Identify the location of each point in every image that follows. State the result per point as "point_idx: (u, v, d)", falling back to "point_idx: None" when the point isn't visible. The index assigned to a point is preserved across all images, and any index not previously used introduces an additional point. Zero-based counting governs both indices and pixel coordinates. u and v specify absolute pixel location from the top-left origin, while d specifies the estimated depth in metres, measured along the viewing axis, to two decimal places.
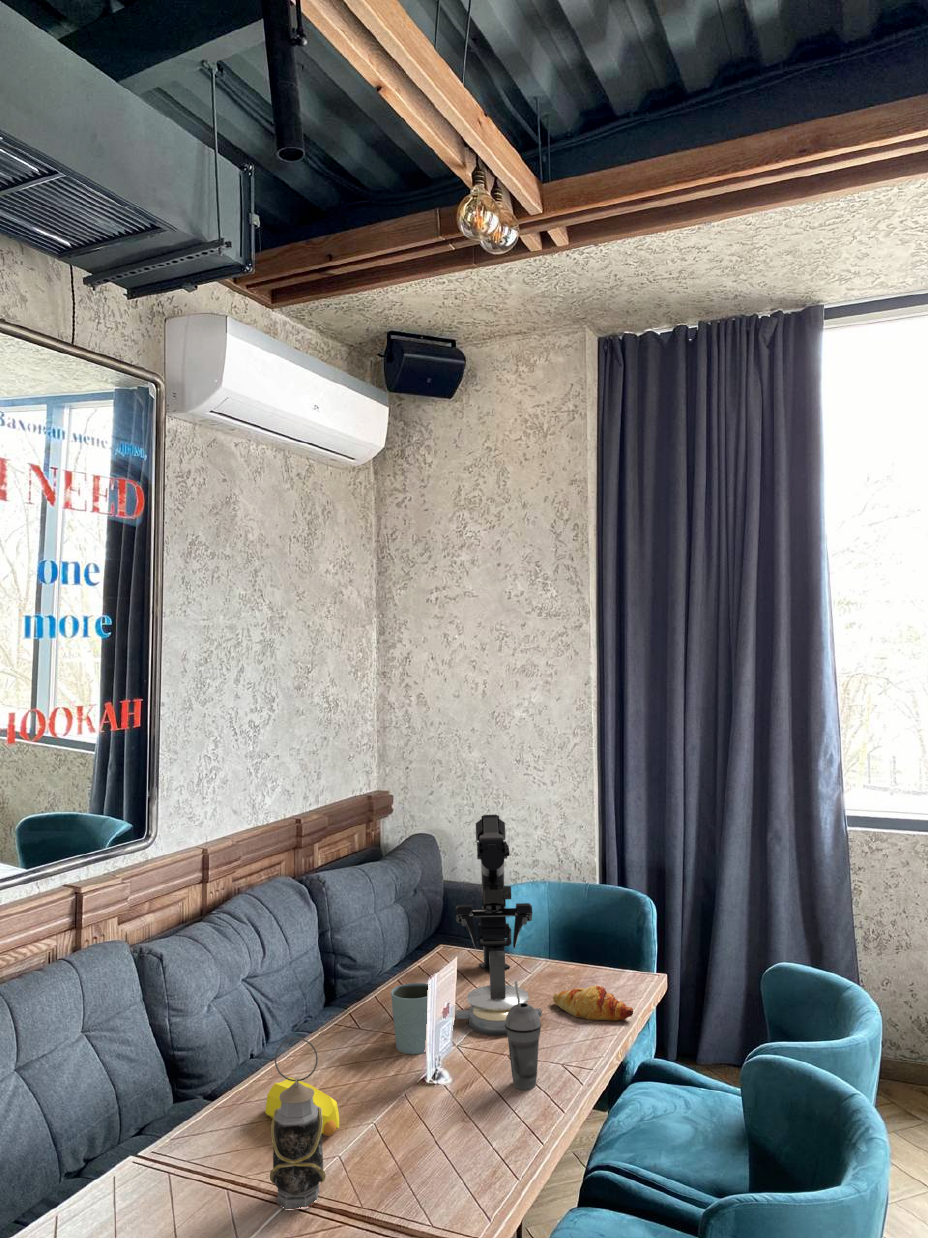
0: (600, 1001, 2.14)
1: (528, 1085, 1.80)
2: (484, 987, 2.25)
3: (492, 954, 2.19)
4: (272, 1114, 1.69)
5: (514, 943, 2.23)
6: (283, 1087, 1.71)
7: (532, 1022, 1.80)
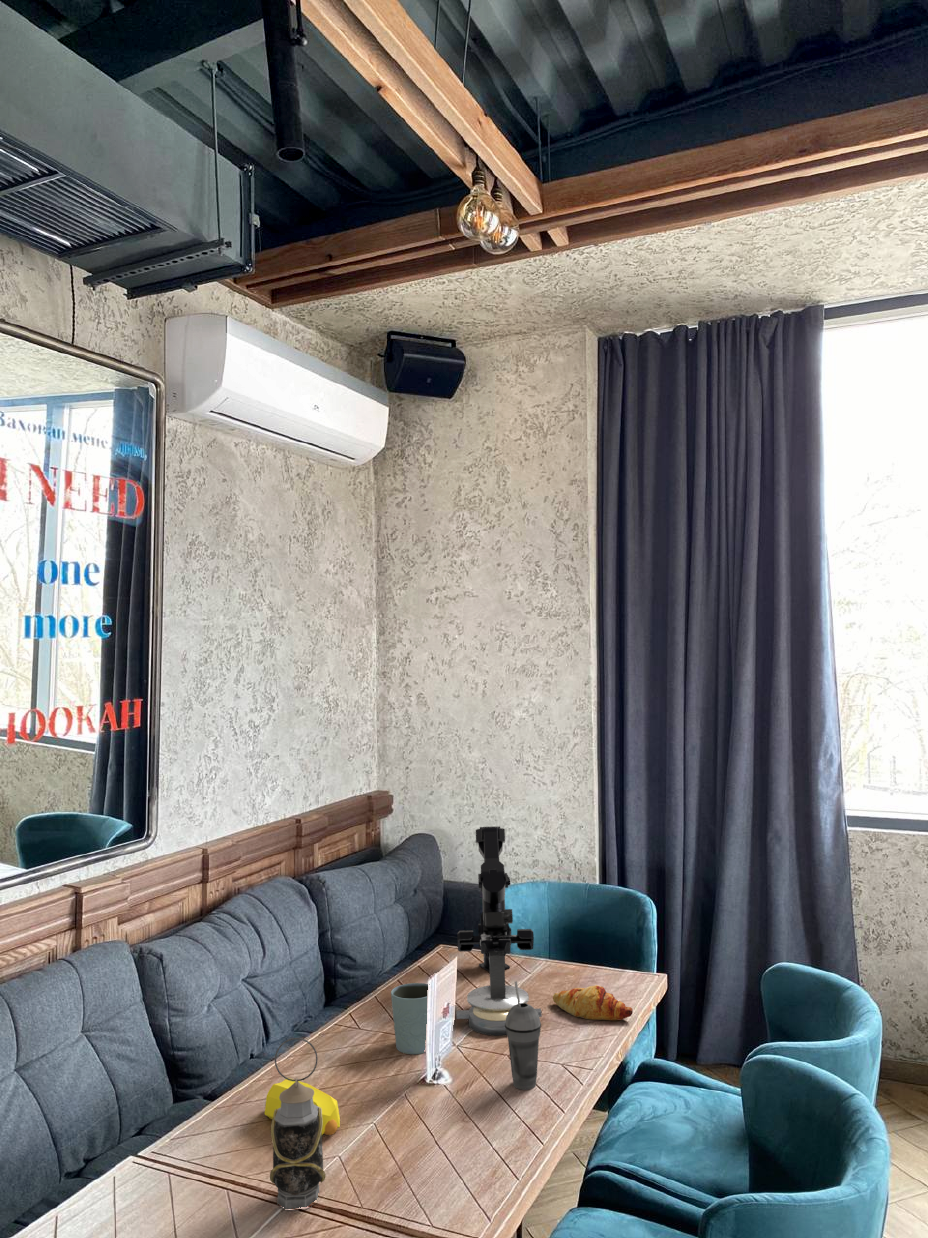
0: (600, 1000, 2.14)
1: (528, 1085, 1.80)
2: (484, 987, 2.25)
3: (492, 954, 2.19)
4: (272, 1115, 1.69)
5: None
6: (282, 1087, 1.71)
7: (532, 1022, 1.80)
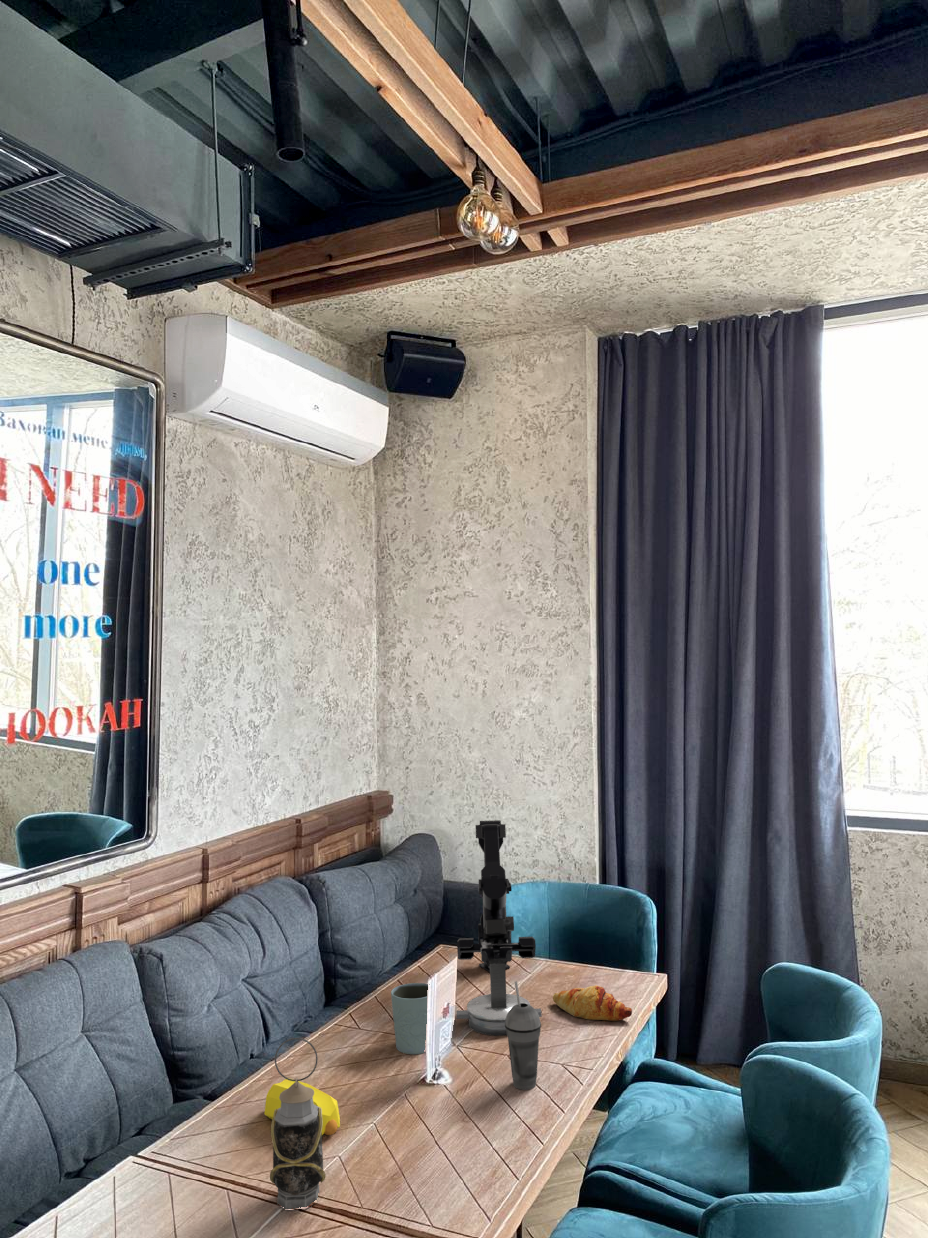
0: (599, 1001, 2.14)
1: (528, 1085, 1.80)
2: (484, 996, 2.19)
3: (493, 962, 2.13)
4: (272, 1115, 1.69)
5: None
6: (282, 1088, 1.70)
7: (532, 1022, 1.80)
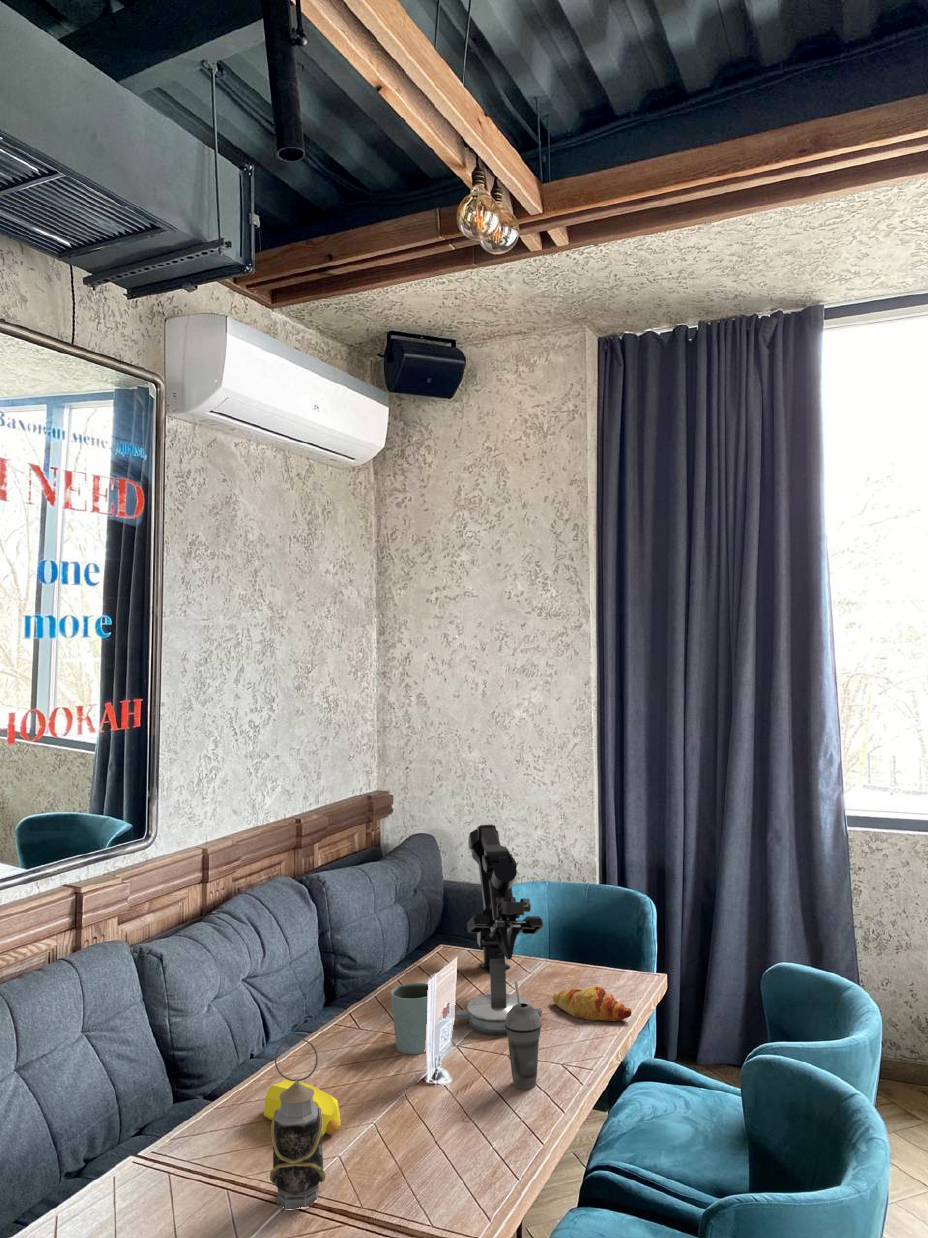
0: (598, 1001, 2.14)
1: (528, 1085, 1.80)
2: (484, 996, 2.19)
3: (493, 962, 2.13)
4: (271, 1115, 1.69)
5: (511, 954, 2.28)
6: (282, 1088, 1.70)
7: (532, 1022, 1.80)
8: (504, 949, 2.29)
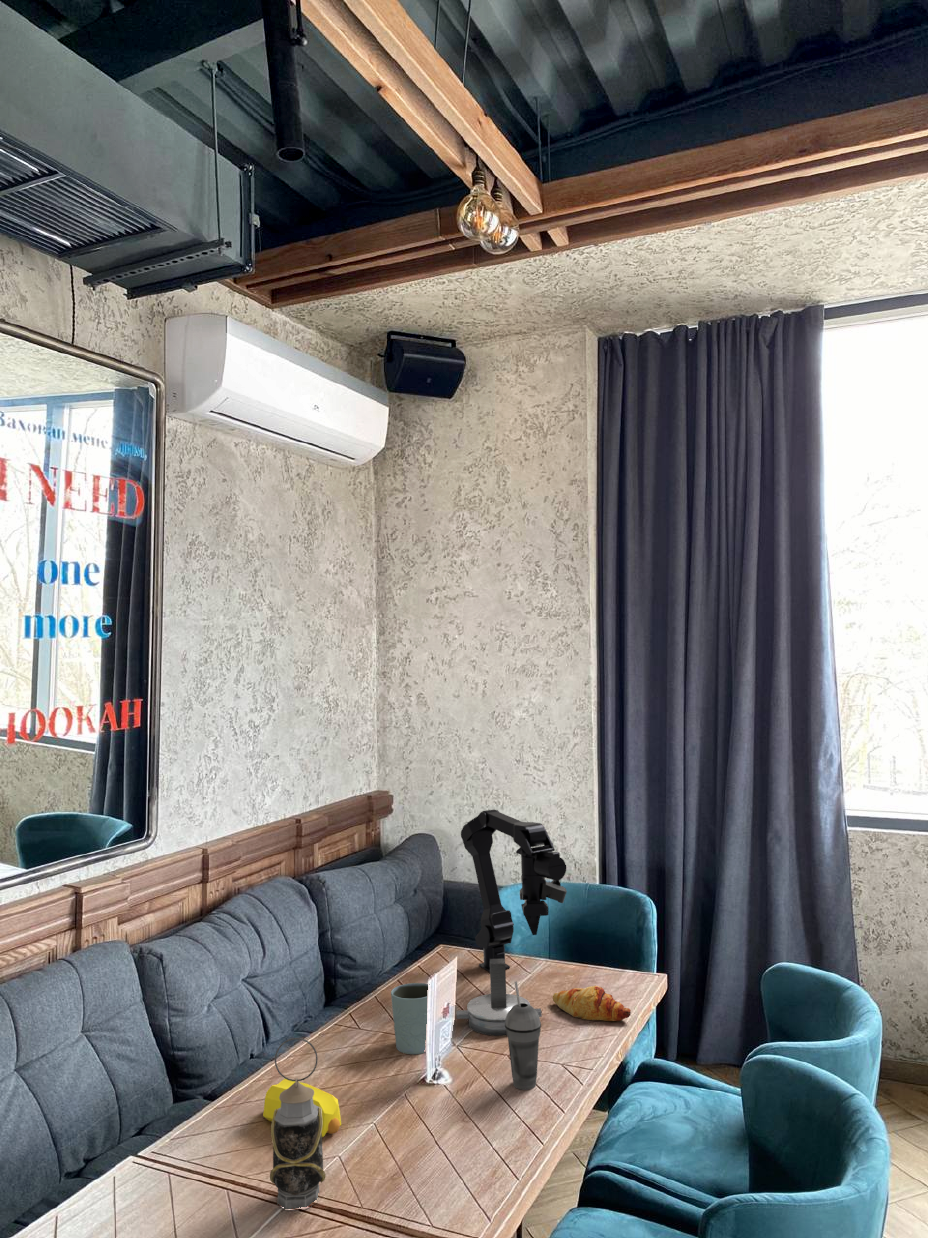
0: (598, 1001, 2.14)
1: (528, 1085, 1.80)
2: (484, 996, 2.19)
3: (493, 962, 2.13)
4: (271, 1116, 1.69)
5: None
6: (282, 1088, 1.70)
7: (532, 1022, 1.80)
8: (534, 926, 2.36)
